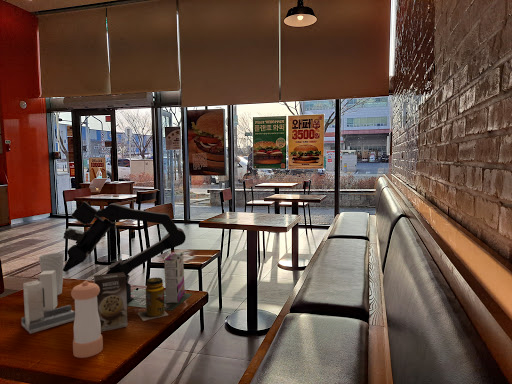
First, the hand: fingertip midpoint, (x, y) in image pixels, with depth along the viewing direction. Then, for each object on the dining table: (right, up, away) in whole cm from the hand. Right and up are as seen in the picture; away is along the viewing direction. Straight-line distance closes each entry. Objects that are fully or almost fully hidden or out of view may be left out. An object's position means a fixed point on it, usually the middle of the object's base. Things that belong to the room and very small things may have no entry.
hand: (67, 267), depth 127 cm
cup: (-13, -14, +15) cm, 24 cm away
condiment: (+33, -15, -7) cm, 36 cm away
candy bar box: (+37, -14, +9) cm, 40 cm away
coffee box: (+22, -15, -15) cm, 31 cm away
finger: (-6, -15, 0) cm, 16 cm away
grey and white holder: (+1, -15, -12) cm, 19 cm away
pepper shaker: (+22, -16, -31) cm, 41 cm away
